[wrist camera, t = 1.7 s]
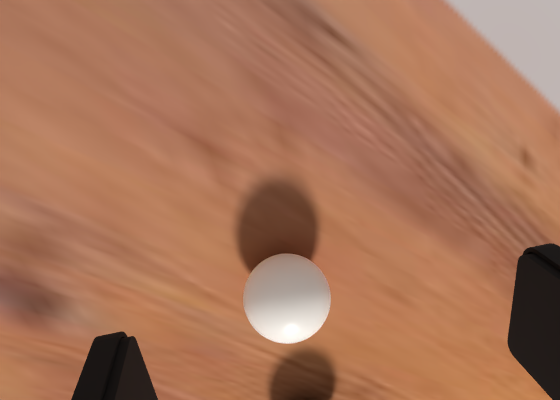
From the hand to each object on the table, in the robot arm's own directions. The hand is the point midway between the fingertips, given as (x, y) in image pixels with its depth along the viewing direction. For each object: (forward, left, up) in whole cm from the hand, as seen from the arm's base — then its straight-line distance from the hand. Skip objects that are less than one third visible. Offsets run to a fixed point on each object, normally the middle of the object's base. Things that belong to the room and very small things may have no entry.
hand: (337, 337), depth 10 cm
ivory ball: (+9, 0, -14) cm, 17 cm away
